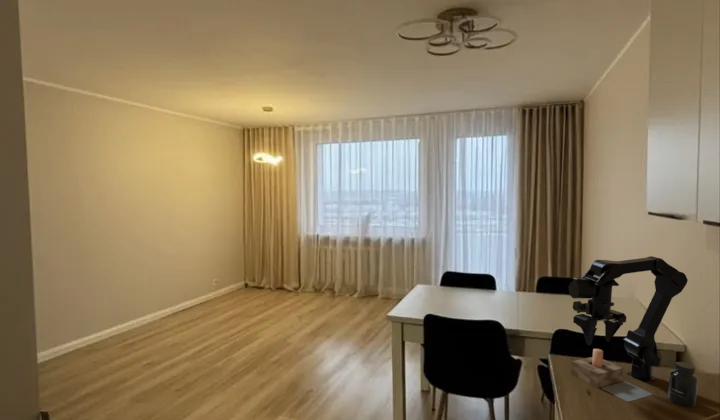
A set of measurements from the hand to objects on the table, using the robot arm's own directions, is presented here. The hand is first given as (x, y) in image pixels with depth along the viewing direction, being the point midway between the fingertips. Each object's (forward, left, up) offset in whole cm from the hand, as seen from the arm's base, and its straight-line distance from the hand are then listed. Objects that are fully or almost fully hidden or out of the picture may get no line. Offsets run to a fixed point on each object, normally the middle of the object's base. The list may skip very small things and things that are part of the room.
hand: (598, 343), depth 143 cm
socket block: (0, 0, -13) cm, 13 cm away
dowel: (0, 0, -13) cm, 13 cm away
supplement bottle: (-11, +21, -13) cm, 27 cm away
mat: (-1, +10, -13) cm, 16 cm away
